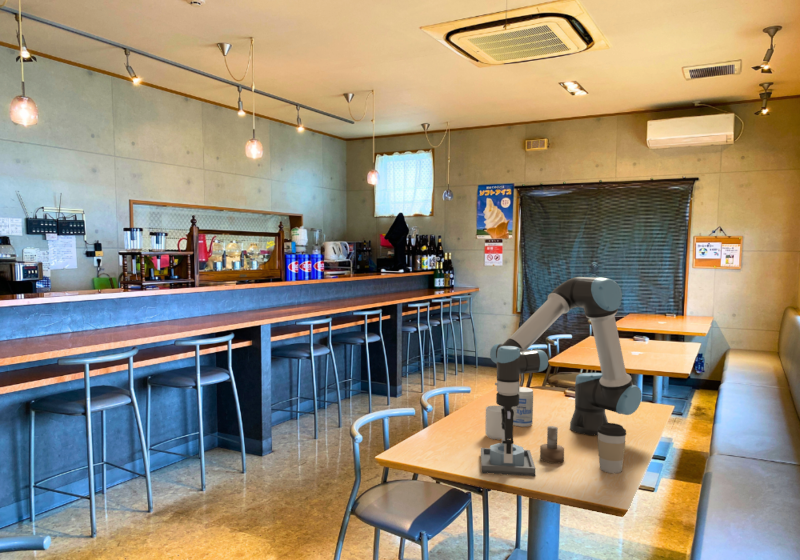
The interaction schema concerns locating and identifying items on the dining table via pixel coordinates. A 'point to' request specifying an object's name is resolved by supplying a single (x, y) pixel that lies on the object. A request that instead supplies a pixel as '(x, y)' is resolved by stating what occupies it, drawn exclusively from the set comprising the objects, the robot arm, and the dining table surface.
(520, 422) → the supplement tub
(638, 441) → the dining table surface
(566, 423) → the dining table surface
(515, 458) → the ring
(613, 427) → the coffee cup
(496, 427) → the mug
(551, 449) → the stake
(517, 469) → the tray
